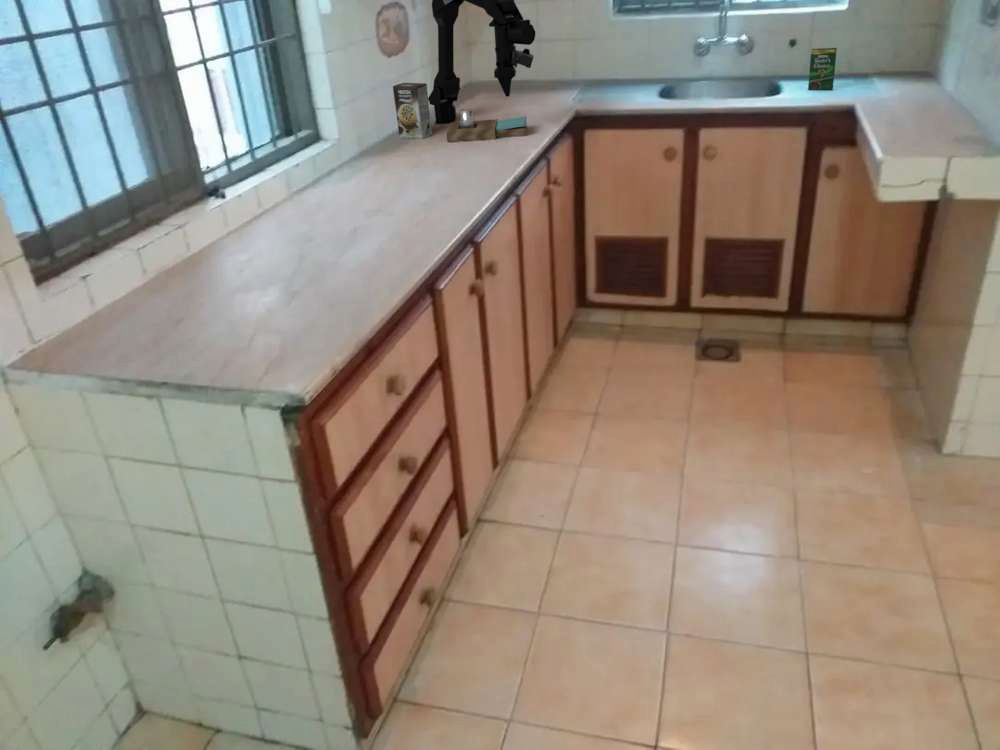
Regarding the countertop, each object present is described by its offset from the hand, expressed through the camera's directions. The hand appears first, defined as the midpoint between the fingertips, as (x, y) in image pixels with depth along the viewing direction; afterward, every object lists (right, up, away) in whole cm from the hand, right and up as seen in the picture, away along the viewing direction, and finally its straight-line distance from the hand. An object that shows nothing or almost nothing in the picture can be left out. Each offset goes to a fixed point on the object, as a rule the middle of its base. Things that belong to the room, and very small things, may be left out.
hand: (507, 96), depth 253 cm
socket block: (-6, -11, +4) cm, 13 cm away
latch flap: (+1, -8, +2) cm, 9 cm away
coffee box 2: (+106, +10, +22) cm, 109 cm away
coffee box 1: (-30, -10, +9) cm, 32 cm away
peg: (-12, -11, +4) cm, 17 cm away
